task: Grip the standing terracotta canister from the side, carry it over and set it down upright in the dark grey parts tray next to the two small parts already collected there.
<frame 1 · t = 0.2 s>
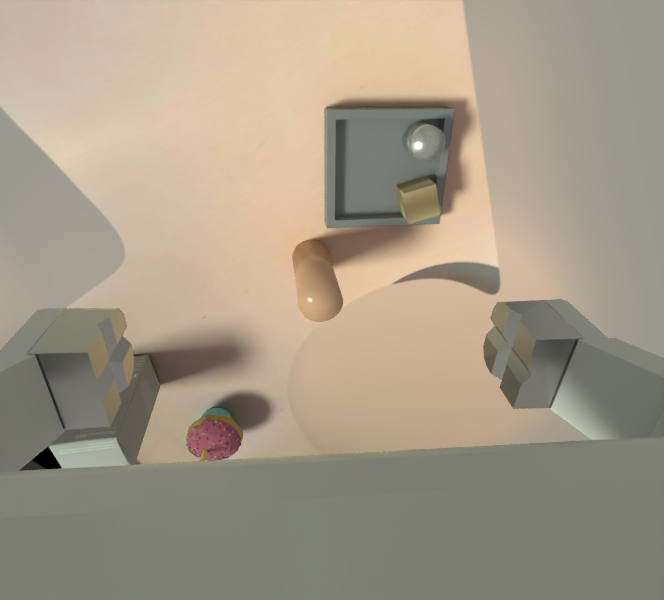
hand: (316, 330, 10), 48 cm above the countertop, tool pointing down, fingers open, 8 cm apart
cupcake: (217, 416, 73), on the countertop
skincare box: (128, 374, 66), on the countertop
part metal: (418, 138, 54), point 1 cm above the countertop, touching parts tray
parts tray: (383, 167, 56), on the countertop
part oak: (413, 195, 57), point 1 cm above the countertop, touching parts tray
canister: (310, 256, 61), on the countertop
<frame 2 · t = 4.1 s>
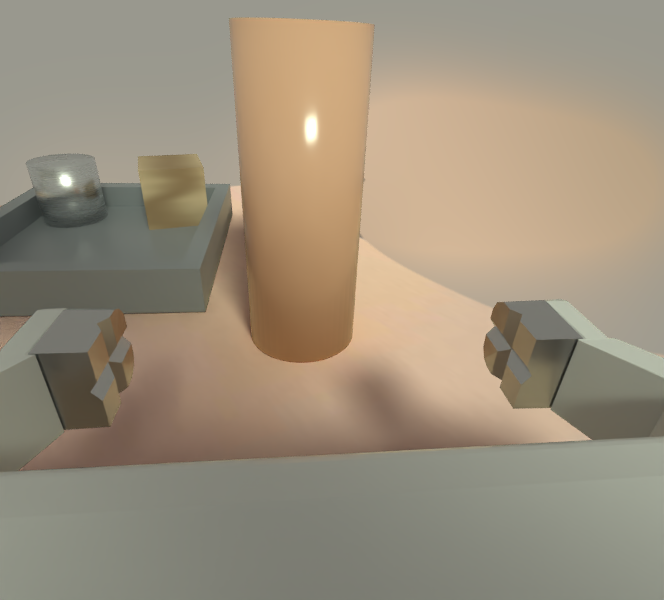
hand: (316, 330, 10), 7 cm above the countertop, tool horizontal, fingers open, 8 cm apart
part metal: (76, 217, 31), point 1 cm above the countertop, touching parts tray
parts tray: (112, 253, 29), on the countertop
part oak: (178, 217, 32), point 1 cm above the countertop, touching parts tray
canister: (302, 330, 22), on the countertop
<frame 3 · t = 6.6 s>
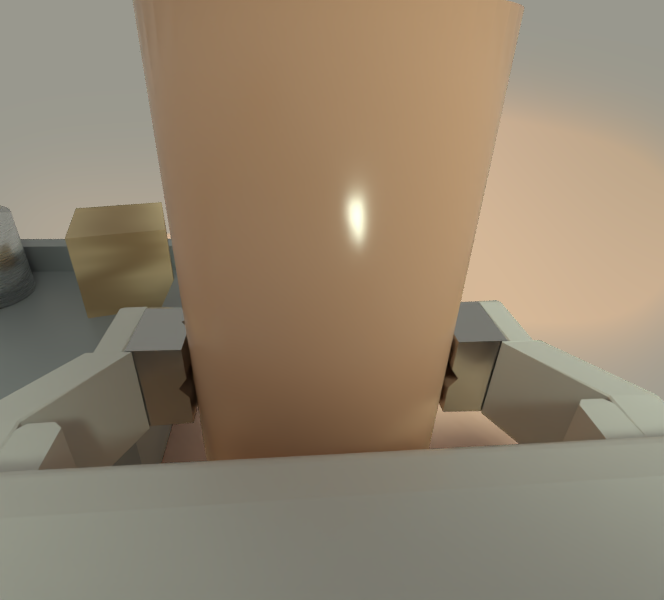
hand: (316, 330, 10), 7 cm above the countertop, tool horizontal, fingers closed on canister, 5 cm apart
parts tray: (30, 357, 19), on the countertop
part oak: (134, 292, 23), point 1 cm above the countertop, touching parts tray
canister: (314, 549, 13), on the countertop, touching gripper
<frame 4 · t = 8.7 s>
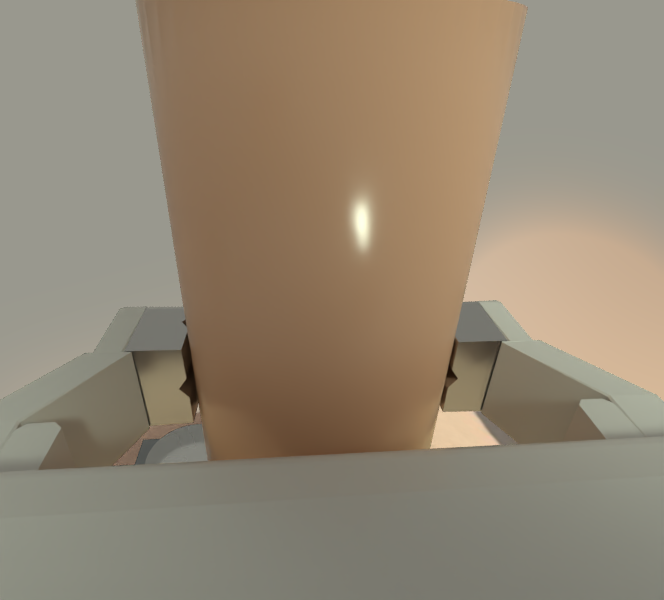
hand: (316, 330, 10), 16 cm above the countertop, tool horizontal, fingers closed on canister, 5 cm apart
part metal: (201, 508, 23), point 1 cm above the countertop, touching parts tray
canister: (314, 550, 13), point 9 cm above the countertop, touching gripper
when the fingers open (9 cm above the countertop, at t = 10.9 s): canister stays where it is, resting on parts tray.
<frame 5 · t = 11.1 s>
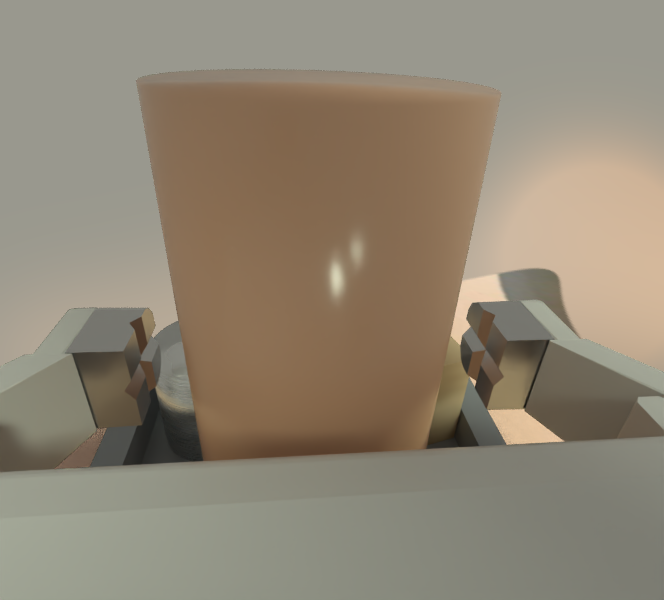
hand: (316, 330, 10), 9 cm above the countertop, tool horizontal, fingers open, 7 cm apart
part metal: (217, 422, 18), point 1 cm above the countertop, touching parts tray
parts tray: (308, 524, 15), on the countertop
part oak: (386, 414, 19), point 1 cm above the countertop, touching parts tray
canister: (312, 567, 13), point 1 cm above the countertop, touching parts tray
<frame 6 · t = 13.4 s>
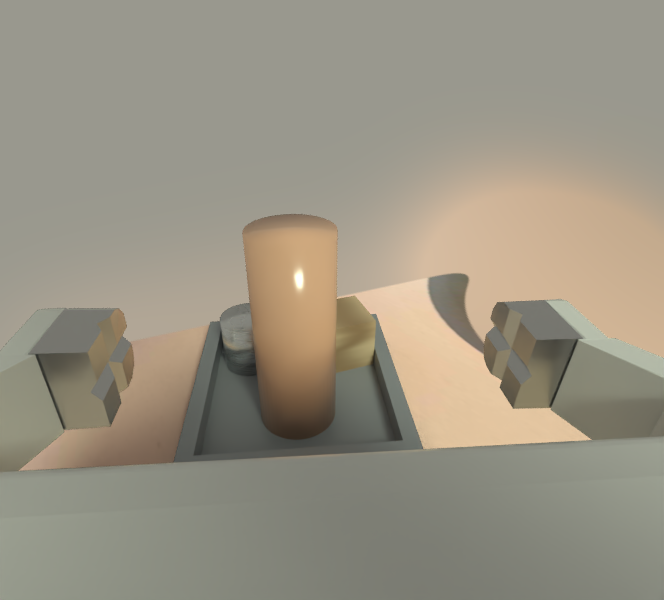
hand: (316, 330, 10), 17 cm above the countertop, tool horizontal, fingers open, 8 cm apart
part metal: (252, 359, 35), point 1 cm above the countertop, touching parts tray
parts tray: (298, 401, 32), on the countertop
part oak: (340, 354, 35), point 1 cm above the countertop, touching parts tray
canister: (298, 411, 30), point 1 cm above the countertop, touching parts tray
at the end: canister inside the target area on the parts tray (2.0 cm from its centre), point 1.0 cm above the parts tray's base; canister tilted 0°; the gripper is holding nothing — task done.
